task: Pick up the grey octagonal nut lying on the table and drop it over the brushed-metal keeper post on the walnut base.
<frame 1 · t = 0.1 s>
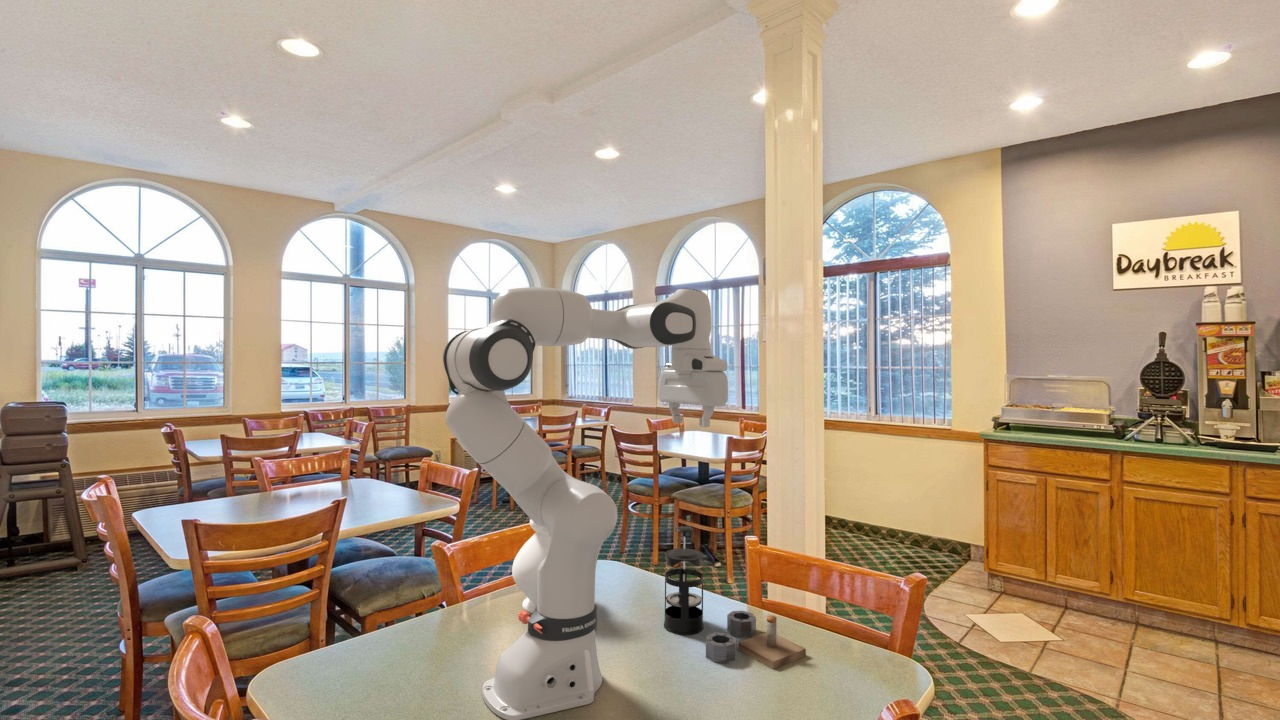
hand: (690, 424, 133), 48 cm above the table, fingers open, 8 cm apart
grey octagonal nut: (720, 655, 126), on the table
decorative vase: (547, 604, 152), on the table
keeper: (771, 652, 128), on the table
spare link: (741, 631, 138), on the table
french press: (683, 626, 141), on the table
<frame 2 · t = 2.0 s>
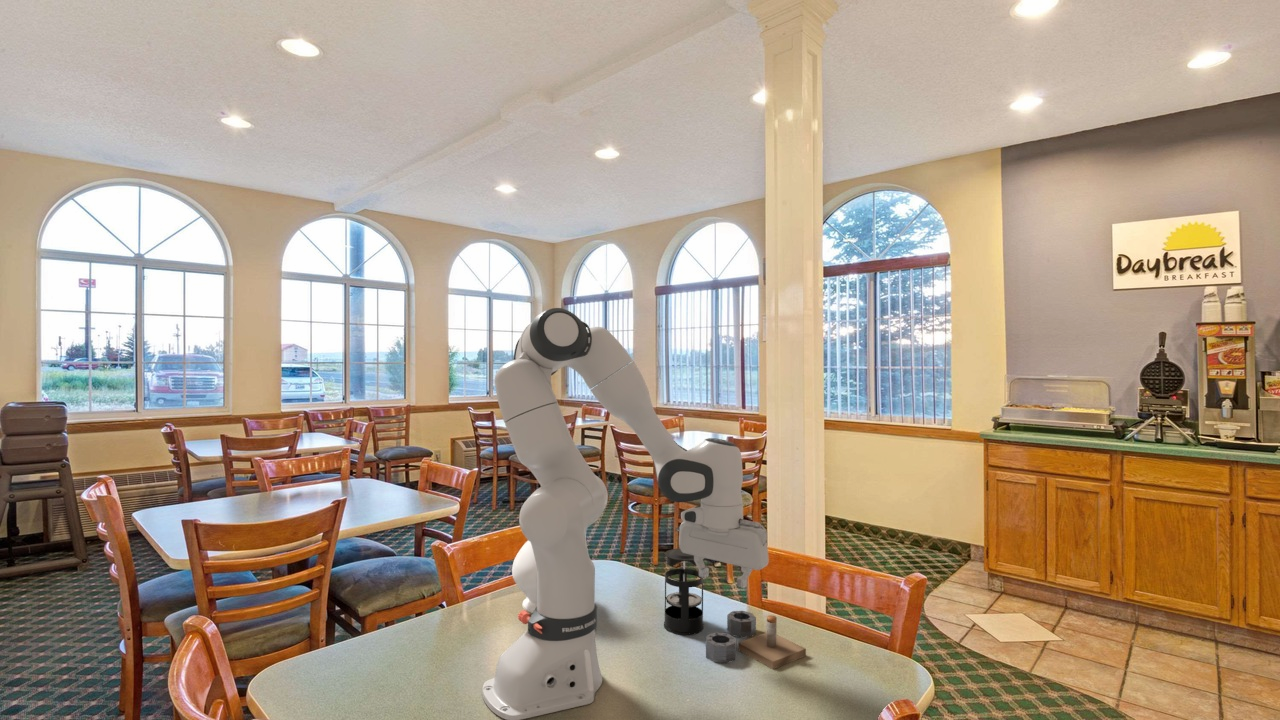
hand: (722, 581, 126), 16 cm above the table, fingers open, 8 cm apart
nothing on the table moved.
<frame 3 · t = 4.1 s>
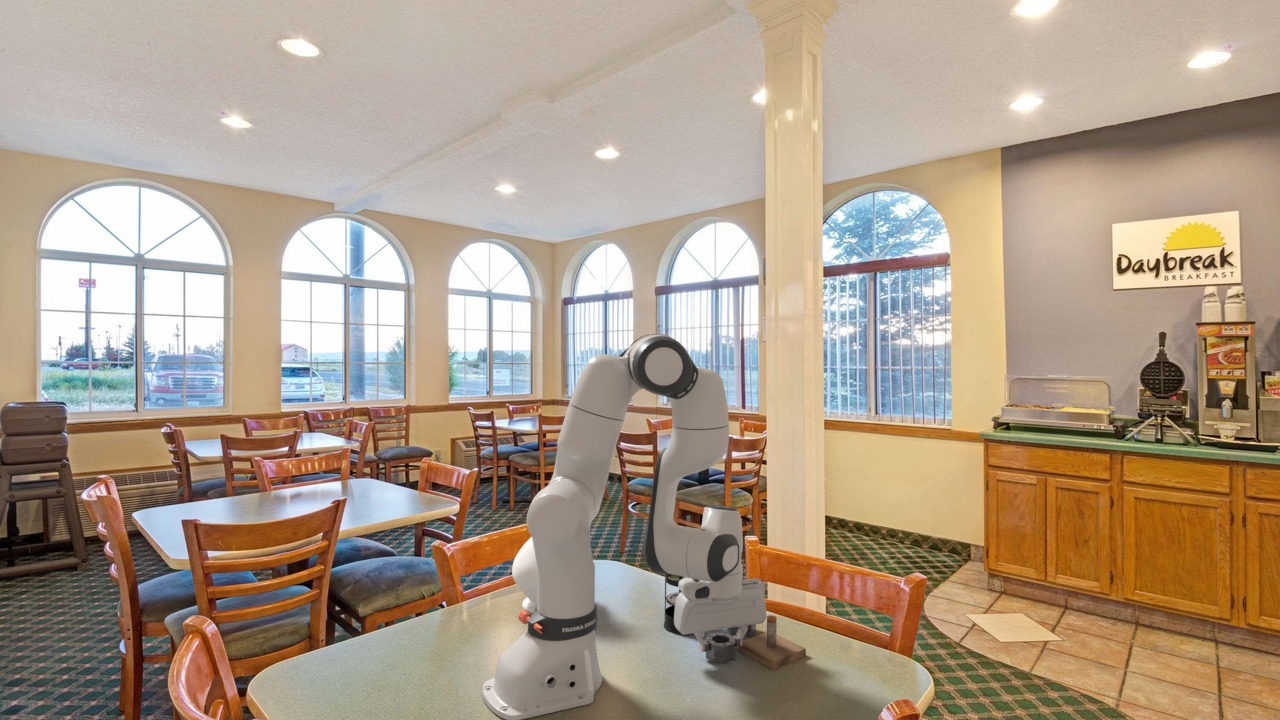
hand: (720, 648, 126), 2 cm above the table, fingers closed on grey octagonal nut, 6 cm apart
grey octagonal nut: (720, 655, 126), on the table, touching gripper
everything else where it was.
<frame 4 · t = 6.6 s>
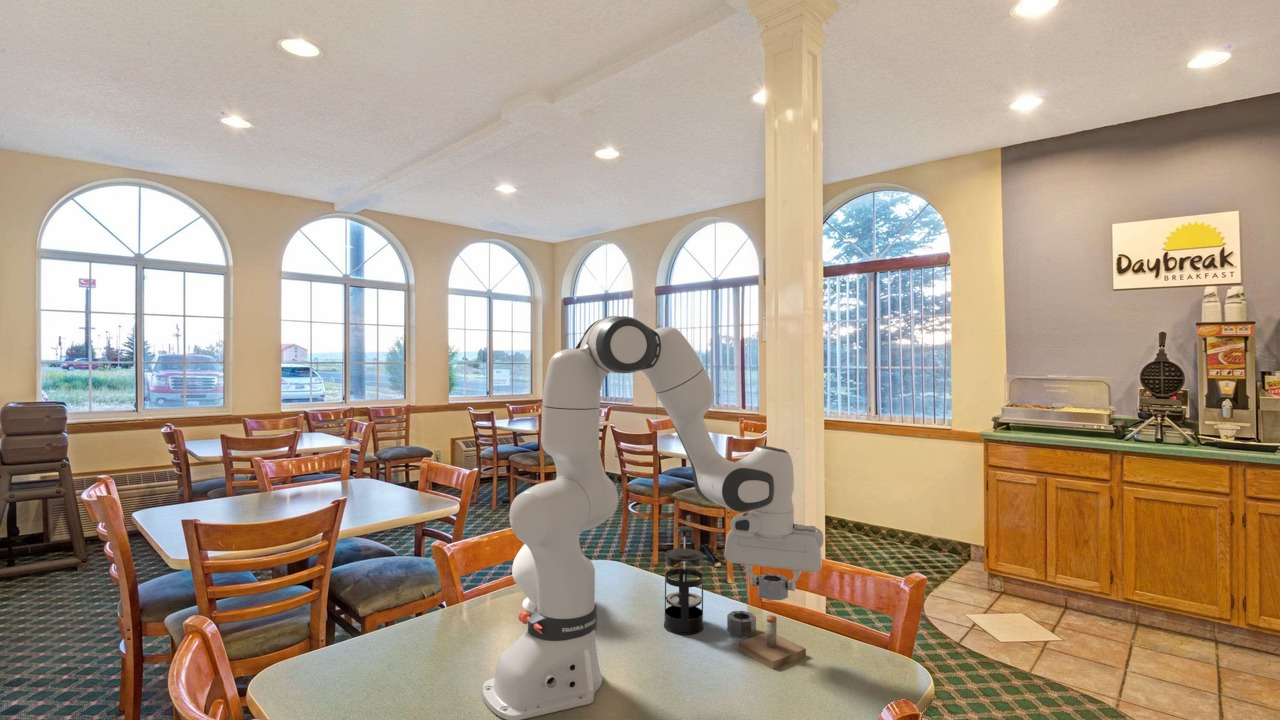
hand: (772, 587, 128), 14 cm above the table, fingers closed on grey octagonal nut, 6 cm apart
grey octagonal nut: (772, 594, 128), point 12 cm above the table, touching gripper
everything else where it was.
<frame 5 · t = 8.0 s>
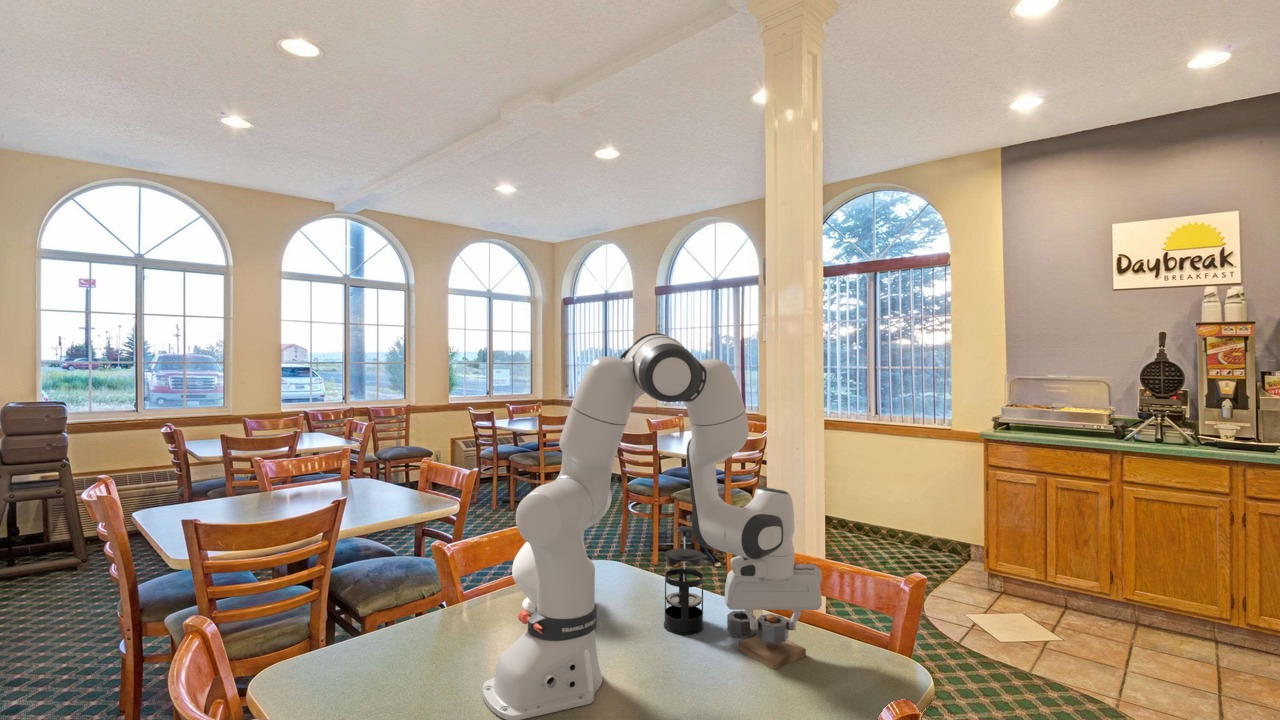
hand: (772, 629, 127), 5 cm above the table, fingers closed on grey octagonal nut, 6 cm apart
grey octagonal nut: (772, 636, 127), point 4 cm above the table, touching gripper
everything else where it was.
when the fingers open (5 cm above the table, at t = 9.1 s): grey octagonal nut drops 1 cm, resting on keeper.
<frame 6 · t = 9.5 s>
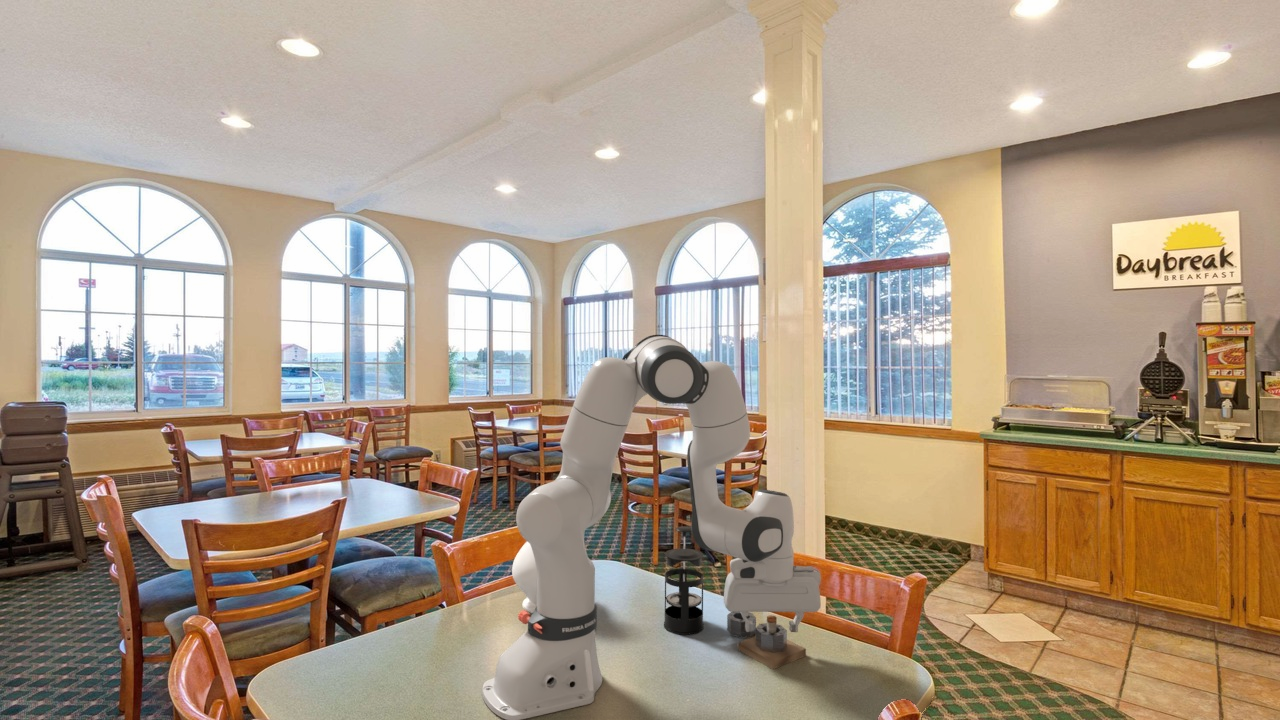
hand: (771, 631, 128), 5 cm above the table, fingers open, 8 cm apart
grey octagonal nut: (771, 645, 128), point 1 cm above the table, touching keeper
everything else where it was.
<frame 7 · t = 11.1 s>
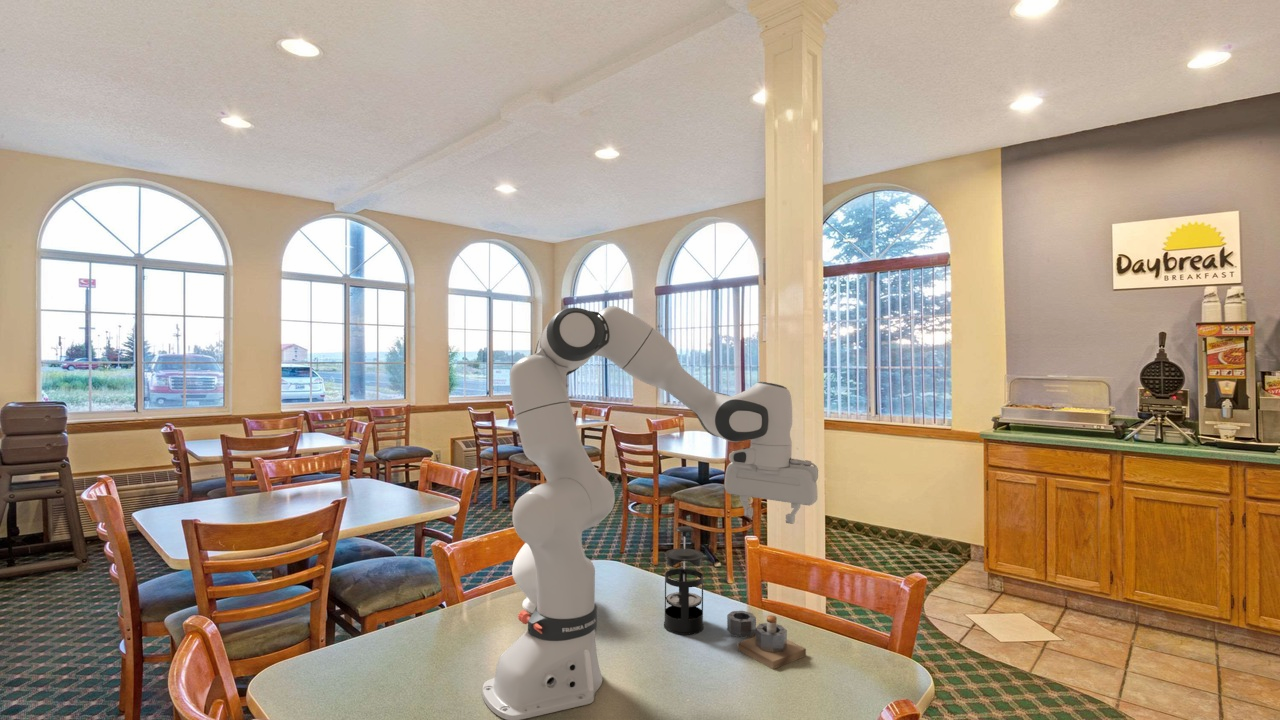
hand: (769, 519, 131), 27 cm above the table, fingers open, 8 cm apart
nothing on the table moved.
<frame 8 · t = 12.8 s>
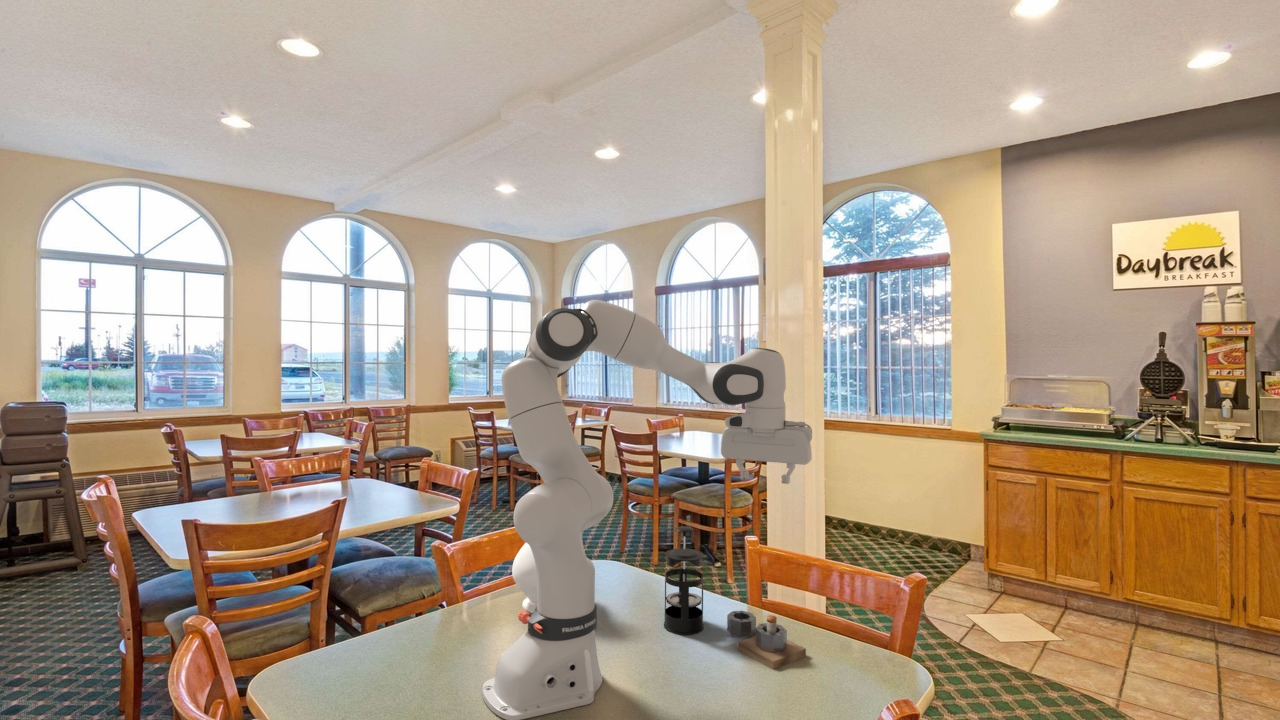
hand: (765, 481, 135), 35 cm above the table, fingers open, 8 cm apart
nothing on the table moved.
at the end: grey octagonal nut 0.1 cm off-centre on the keeper, point 1.5 cm above the keeper's base; the gripper is holding nothing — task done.
